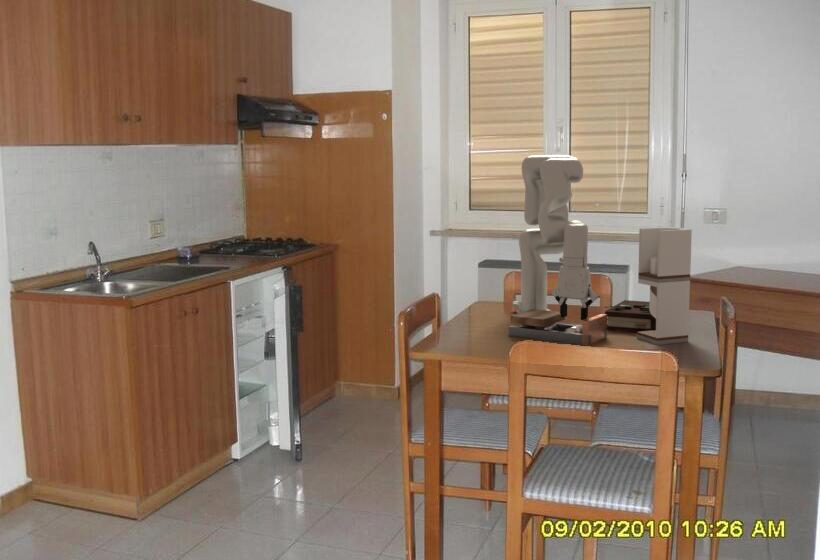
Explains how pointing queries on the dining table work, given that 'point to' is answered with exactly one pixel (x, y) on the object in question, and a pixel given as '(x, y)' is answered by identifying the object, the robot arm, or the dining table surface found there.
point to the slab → (537, 318)
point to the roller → (575, 329)
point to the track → (591, 332)
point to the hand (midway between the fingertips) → (573, 317)
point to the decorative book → (630, 317)
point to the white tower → (666, 281)
